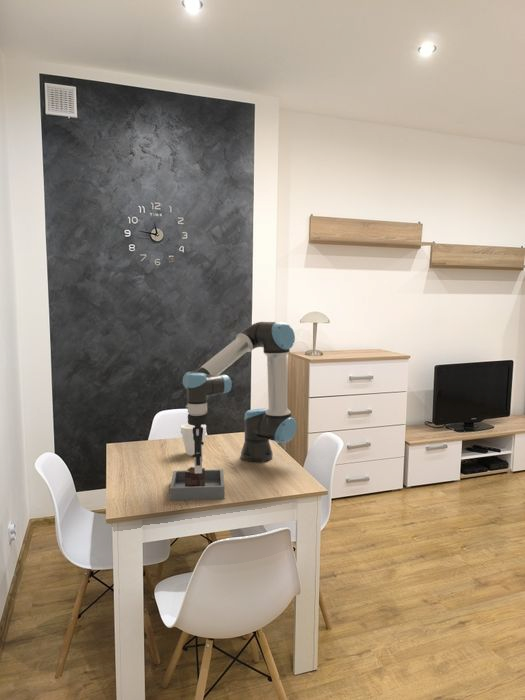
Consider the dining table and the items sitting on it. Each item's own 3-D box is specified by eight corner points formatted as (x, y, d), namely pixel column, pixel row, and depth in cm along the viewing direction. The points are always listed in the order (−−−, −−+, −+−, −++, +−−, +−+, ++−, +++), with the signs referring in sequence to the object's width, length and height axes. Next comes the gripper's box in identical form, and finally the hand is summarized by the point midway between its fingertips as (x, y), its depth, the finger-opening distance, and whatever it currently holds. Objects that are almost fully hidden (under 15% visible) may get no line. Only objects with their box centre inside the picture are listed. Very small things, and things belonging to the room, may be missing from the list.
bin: (222, 480, 203) (222, 469, 202) (224, 498, 183) (224, 486, 183) (173, 481, 201) (173, 470, 200) (169, 500, 181) (169, 488, 180)
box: (205, 486, 194) (205, 468, 193) (199, 491, 188) (199, 472, 188) (190, 484, 196) (190, 466, 195) (184, 490, 190) (184, 471, 189)
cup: (211, 452, 242) (211, 425, 241) (195, 458, 232) (195, 430, 230) (192, 448, 248) (192, 422, 247) (175, 454, 238) (175, 426, 237)
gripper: (188, 406, 201) (190, 457, 203) (186, 421, 177) (187, 478, 179) (207, 406, 202) (208, 456, 204) (207, 420, 177) (208, 477, 179)
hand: (198, 467), depth 191 cm, fingers open, 13 cm apart
